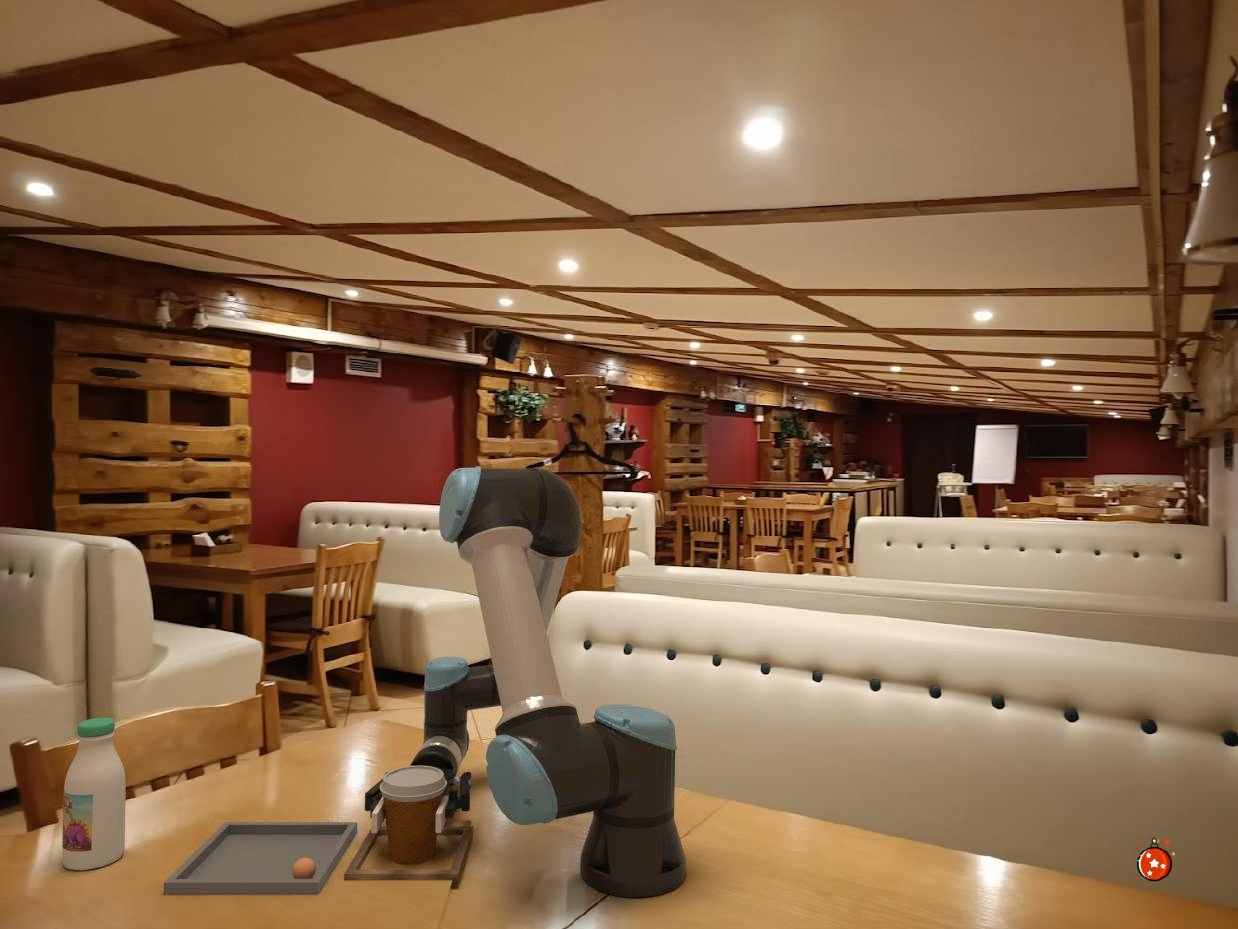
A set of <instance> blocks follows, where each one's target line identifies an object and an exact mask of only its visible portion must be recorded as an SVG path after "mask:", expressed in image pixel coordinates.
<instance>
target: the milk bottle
mask: <svg viewBox="0 0 1238 929" xmlns="http://www.w3.org/2000/svg"><path fill="white" fill-rule="evenodd" d="M115 726H116V725H115V719H114V718H111V717H95V718H90V719H89V718H88V719H86V720H82V721H81V722H79V723H78V725H77V732H76V733H77V740H78V747H77V751H76V754H75V755H74V758H73V760H72V762H71V764H70V766H69V768H68V770H67V773H66V776H65V779H64V787H63V799H62V802H63V805H62V806H63V807H62V839H61V841H62V843H61V845H62V848H61V851H62V852H61V853H62V854H61V860H62V861H61V862H62V865H63V867H65V868H66V869H68V870H72V871H85V870H86V871H88V870H92V869H93V870H94V869H98V868H102V867H105V866H107V865H110V864H112V863H114V862H117V860H119V859H120V858H121V857H122V856H123V854H124V852H125V849H126V848H125V847H126V846H125V844H126V841H125V840H126V791H127V790H126V789H127V788H126V772H125V768H124V764H123V761H122V760H121V758H120V756H119V754H118V752H117V750H116V747H115V745H114V741H113V737H114V735H115Z"/></svg>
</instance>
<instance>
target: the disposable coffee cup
mask: <svg viewBox="0 0 1238 929" xmlns="http://www.w3.org/2000/svg"><path fill="white" fill-rule="evenodd" d="M387 772H388V771H387ZM385 773H386V772H385ZM385 773H384V775H383V777H382V779H383V781H382V783H381V784H380V791H381V792H382V795H383V800H384V809H385V826H386V828H387V835H386V836H387V844H388V854H389V859H390V860H391V862H393V863H395V864H397V865H405V866H406V865H407V866H409V865H418V864H419V865H420V864H421V863H425V862H428V861H429V860H431V859H432V858H434V857H433V856H435V854H436V853H435V852H436V847H437V846H436V845H437V838H438V835H437V833H435V832H436V812H437V810H438V808H439V805H440V803H441V801H442V797H443V792H444V790H445V787H446V785H447V781H446V779H445V778H444V773H443V771H442V770H440V769H438V768H435V767H431V766H410V765H407V766H401V767H397V768H394V769H392V770H389V772H388V773H386V774H385Z"/></svg>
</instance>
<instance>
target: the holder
mask: <svg viewBox="0 0 1238 929" xmlns="http://www.w3.org/2000/svg"><path fill="white" fill-rule="evenodd" d="M379 836H387V828H386V825H383V826H382V825H381V827H380V828H379V830H378V832H377V833H371V829H370V830H369V831H368V833H367V835H366V837H365V838H364V840H363V841H362V843H361V845H360V847H359V848H358V850H357V852H356V853H355V855H354V857H353V858H352V860H351V861H350V863H349V865H348V866H347V868H346V870H345V872H344V873H343V880H344V881H451V883H450V886H449V889H450V890H451V889H458V888H459V885H460V881H461V878H462V876H461V875H463V872H464V870H465V865H466V863H465V862H467V858H468V855H469V852H470V850H469V849H471V846H472V842H473V840H474V839H473V837H474V826H472V825H471V826H470V825H468V826H467V825H463V826H461V825H460V826H459V825H454V826H453V825H452V826H451V825H450V826H449V825H444V826H443V829H442V831H441V833H437V836H461V838H460V840H459V844H458V847H457V850H456V852H455V856H454V858H453V861H452V865H451V866H450V869H361V867H362V866H363V863H364V861H365V860H366V858H367V857H368V855H369V853H370V851H371V849H372V847H373V846H374V844H375V842H376V840H377V839H378V838H379Z"/></svg>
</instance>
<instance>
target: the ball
mask: <svg viewBox="0 0 1238 929" xmlns="http://www.w3.org/2000/svg"><path fill="white" fill-rule="evenodd" d="M315 871H316V865H315V863H314V861H313V860H312V859H310V858H302V859H300V860H298V861H297V862H296V863H295V864H294V866H293V870H292V874H293V877H294V878H295V879H311V878H312V877H313V876H314V874H315Z"/></svg>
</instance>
